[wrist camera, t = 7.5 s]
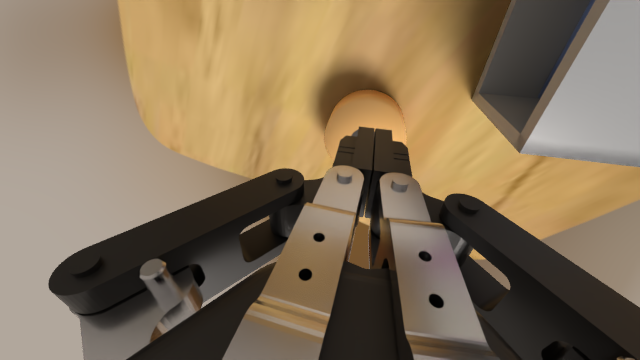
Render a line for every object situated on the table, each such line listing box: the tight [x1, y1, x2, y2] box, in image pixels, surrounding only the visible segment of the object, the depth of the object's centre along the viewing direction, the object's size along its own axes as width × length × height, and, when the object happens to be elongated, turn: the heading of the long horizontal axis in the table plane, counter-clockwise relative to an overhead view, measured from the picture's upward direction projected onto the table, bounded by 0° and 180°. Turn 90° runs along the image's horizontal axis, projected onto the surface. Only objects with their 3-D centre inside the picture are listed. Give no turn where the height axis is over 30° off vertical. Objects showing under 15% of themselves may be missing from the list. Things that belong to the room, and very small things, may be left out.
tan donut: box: [324, 90, 407, 161], centre depth 23 cm, size 7×7×3 cm
